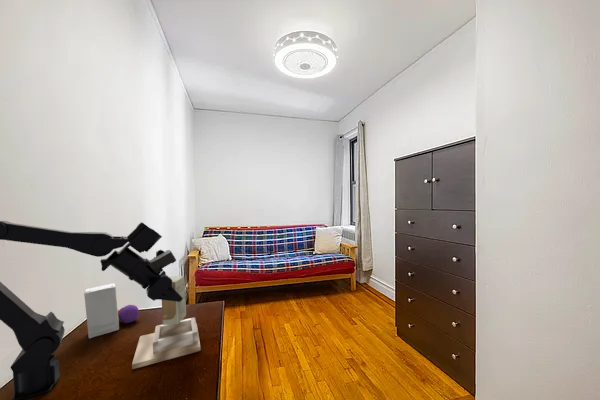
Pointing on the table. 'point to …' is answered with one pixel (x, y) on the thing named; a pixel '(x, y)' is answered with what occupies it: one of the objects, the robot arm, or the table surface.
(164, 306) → the skincare box
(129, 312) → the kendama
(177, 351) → the collar holder
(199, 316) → the table surface
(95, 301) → the skincare box
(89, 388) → the table surface
